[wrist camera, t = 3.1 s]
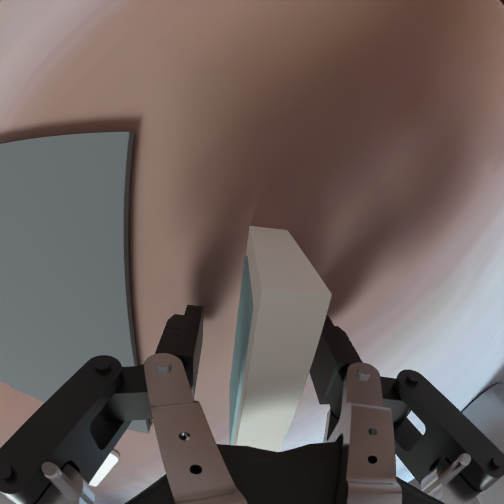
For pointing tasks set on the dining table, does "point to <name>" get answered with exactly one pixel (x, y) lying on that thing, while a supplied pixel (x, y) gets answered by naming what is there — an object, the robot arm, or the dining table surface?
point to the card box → (273, 337)
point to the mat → (64, 259)
